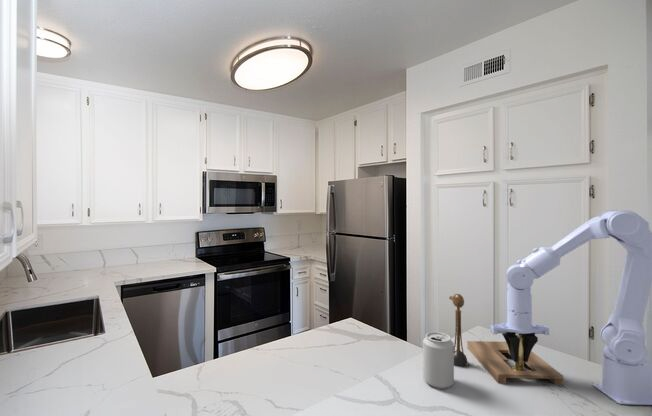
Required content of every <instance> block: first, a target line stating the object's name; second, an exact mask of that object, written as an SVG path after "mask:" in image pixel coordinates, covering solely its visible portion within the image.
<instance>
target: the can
mask: <svg viewBox="0 0 652 416" xmlns="http://www.w3.org/2000/svg"><path fill="white" fill-rule="evenodd" d="M454 343H455V342H453V341H452V337H451V336H450V335H449V334H447V333H444V332H440V331H430V332H427V333H426V334H425V337H424V338H423V340H422V348H423V349H422V353H423V354H422V355H423V357H422V359H423V360H422V365H423V367H422V369H423V370H422V371H423V372H422V373H423V374H422V376H423V377H422V378H423V379H424V381H425V382H426V383H427V384H428V385H429V386H431V387H433V388H436V389H448V388H450V387H452V386H453V385H454V383H455V366H454Z"/></svg>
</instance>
